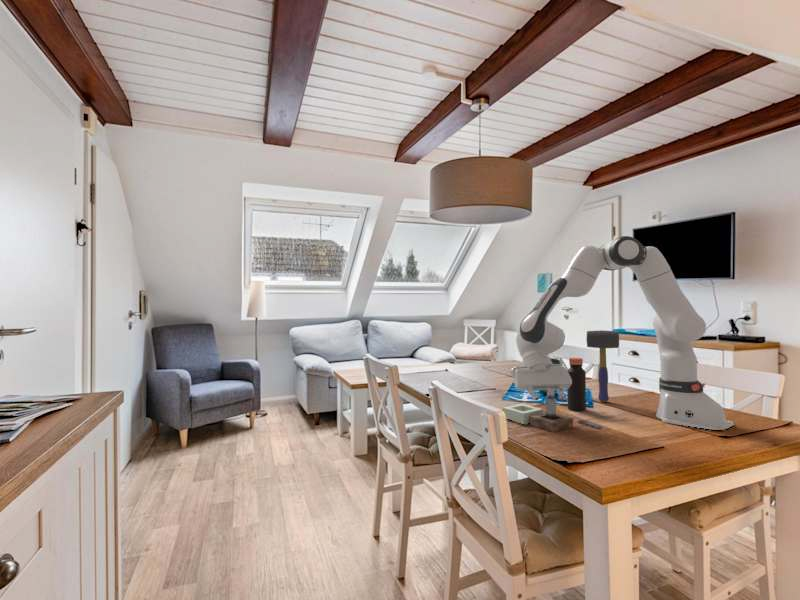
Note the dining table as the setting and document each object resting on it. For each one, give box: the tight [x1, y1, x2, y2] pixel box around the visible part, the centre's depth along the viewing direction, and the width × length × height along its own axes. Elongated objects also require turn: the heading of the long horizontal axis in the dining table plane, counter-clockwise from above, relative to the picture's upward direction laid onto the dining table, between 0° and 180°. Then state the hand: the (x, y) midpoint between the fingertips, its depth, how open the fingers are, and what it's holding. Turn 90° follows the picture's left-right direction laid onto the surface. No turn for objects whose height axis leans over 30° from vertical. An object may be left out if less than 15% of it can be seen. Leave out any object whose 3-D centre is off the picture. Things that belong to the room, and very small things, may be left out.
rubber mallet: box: [586, 330, 620, 403], centre depth 180 cm, size 12×8×30 cm, turn 66°
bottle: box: [566, 357, 587, 412], centre depth 169 cm, size 7×7×20 cm
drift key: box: [577, 419, 602, 430], centre depth 148 cm, size 8×2×1 cm, turn 26°
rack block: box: [502, 403, 544, 425], centre depth 156 cm, size 10×10×4 cm
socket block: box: [529, 412, 574, 433], centre depth 148 cm, size 10×10×3 cm
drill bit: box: [545, 388, 557, 420], centre depth 148 cm, size 3×3×13 cm
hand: (549, 398), depth 149 cm, fingers open, 8 cm apart
